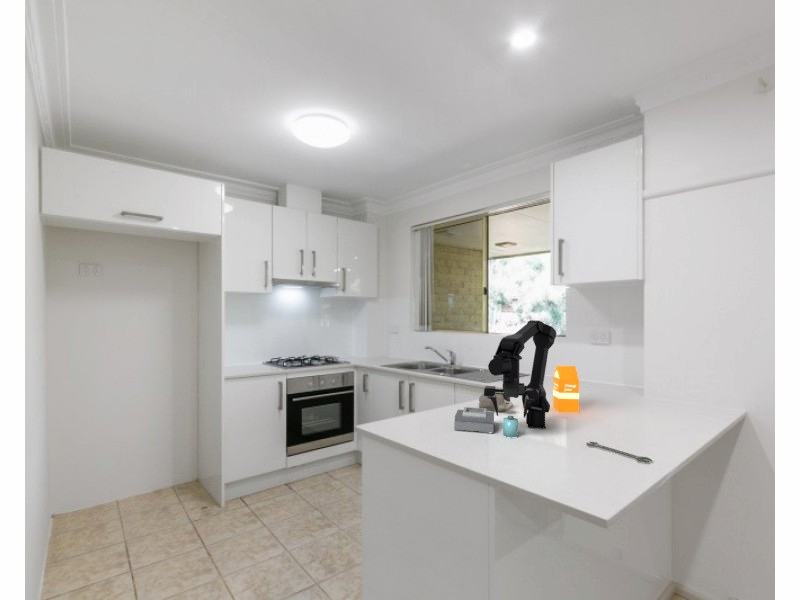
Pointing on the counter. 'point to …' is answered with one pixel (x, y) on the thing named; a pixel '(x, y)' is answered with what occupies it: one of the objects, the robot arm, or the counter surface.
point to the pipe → (501, 402)
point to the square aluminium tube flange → (474, 420)
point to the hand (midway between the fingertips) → (510, 416)
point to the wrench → (620, 453)
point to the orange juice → (566, 389)
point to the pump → (510, 426)
